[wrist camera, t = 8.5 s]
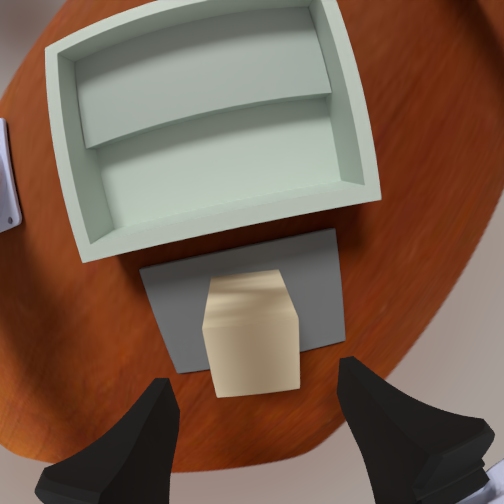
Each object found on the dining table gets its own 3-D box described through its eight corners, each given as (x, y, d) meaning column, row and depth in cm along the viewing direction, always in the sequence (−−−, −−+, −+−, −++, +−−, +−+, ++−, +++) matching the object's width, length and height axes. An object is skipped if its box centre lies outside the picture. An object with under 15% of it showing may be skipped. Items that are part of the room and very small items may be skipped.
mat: (178, 370, 20) (177, 373, 20) (140, 267, 18) (139, 270, 18) (343, 337, 20) (345, 340, 20) (333, 227, 18) (335, 228, 18)
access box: (110, 242, 17) (82, 263, 14) (76, 65, 14) (44, 48, 10) (351, 191, 17) (381, 199, 14) (310, 10, 14) (328, -21, 10)
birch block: (220, 333, 19) (217, 397, 13) (211, 276, 18) (201, 328, 12) (282, 327, 19) (299, 388, 13) (278, 269, 18) (298, 318, 12)
